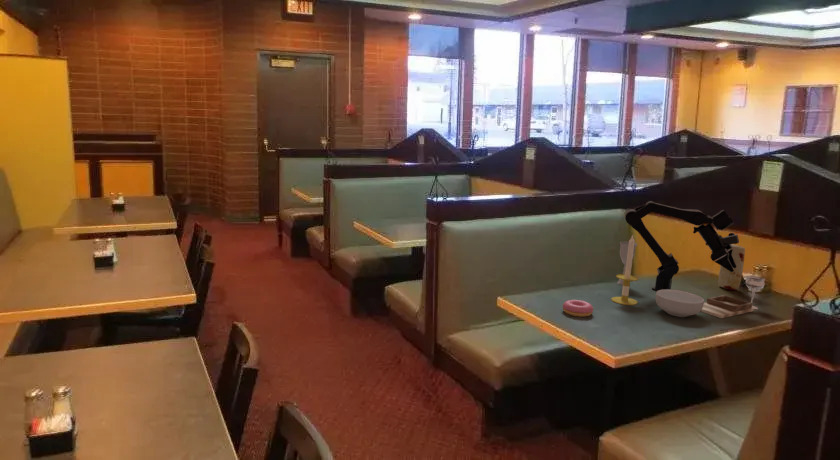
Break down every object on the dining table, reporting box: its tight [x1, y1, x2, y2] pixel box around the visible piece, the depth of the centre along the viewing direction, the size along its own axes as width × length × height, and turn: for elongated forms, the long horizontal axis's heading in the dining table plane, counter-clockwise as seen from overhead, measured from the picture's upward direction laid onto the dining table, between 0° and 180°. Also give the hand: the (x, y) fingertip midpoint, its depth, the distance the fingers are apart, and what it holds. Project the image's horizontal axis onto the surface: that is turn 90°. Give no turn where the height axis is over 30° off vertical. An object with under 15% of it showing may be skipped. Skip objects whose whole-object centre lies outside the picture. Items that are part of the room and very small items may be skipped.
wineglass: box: [744, 275, 766, 310], centre depth 250 cm, size 7×7×12 cm
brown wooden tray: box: [700, 294, 754, 319], centre depth 245 cm, size 21×13×3 cm, turn 123°
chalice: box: [617, 241, 638, 286], centre depth 273 cm, size 7×7×18 cm
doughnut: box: [562, 299, 594, 318], centre depth 230 cm, size 11×11×4 cm
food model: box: [717, 244, 746, 291], centre depth 275 cm, size 10×7×20 cm
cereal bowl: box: [655, 289, 705, 318], centre depth 236 cm, size 17×17×7 cm
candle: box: [610, 234, 639, 306], centre depth 246 cm, size 10×10×27 cm
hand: (734, 269), depth 255 cm, fingers open, 9 cm apart
